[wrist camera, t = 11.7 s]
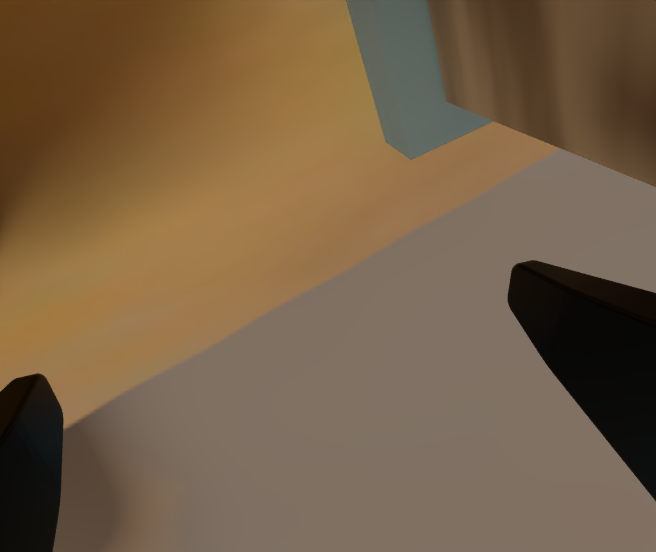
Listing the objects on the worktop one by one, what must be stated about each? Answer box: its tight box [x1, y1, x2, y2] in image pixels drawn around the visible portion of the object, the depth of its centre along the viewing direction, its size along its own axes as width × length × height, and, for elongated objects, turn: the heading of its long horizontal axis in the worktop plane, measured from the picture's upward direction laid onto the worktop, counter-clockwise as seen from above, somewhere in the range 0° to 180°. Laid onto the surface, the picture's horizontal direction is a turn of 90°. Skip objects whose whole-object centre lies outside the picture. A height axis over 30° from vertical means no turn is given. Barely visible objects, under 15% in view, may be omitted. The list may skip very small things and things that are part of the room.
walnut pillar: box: [427, 0, 656, 187], centre depth 13 cm, size 5×5×13 cm
